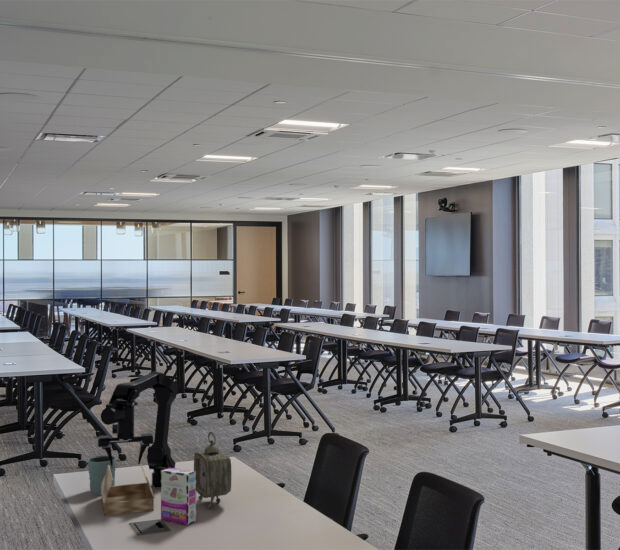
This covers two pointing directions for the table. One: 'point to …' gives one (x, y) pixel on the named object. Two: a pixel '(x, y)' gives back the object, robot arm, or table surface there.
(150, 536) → the table surface
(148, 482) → the flap
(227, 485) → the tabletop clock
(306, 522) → the table surface
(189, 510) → the candy bar box
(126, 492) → the carton
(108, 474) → the flap
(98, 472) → the teal cup
